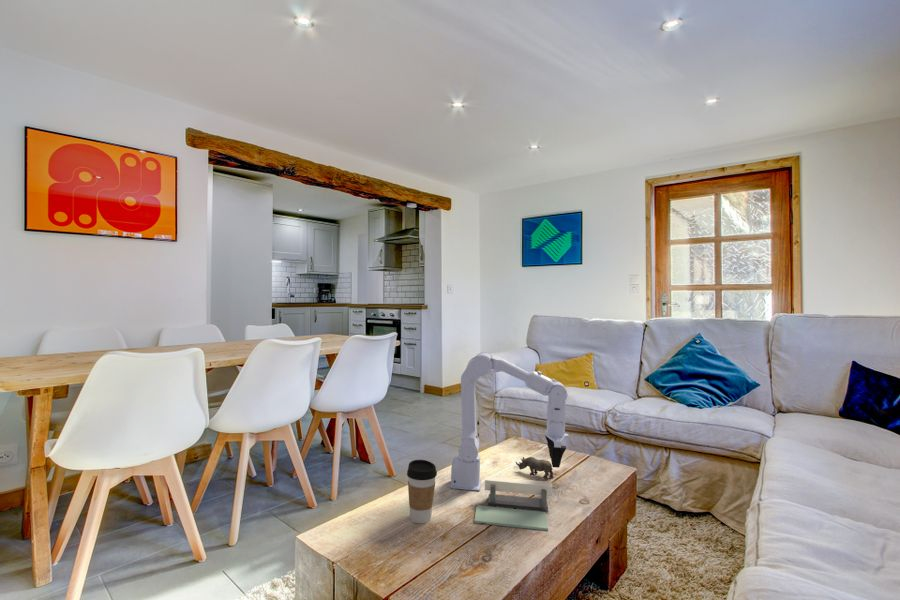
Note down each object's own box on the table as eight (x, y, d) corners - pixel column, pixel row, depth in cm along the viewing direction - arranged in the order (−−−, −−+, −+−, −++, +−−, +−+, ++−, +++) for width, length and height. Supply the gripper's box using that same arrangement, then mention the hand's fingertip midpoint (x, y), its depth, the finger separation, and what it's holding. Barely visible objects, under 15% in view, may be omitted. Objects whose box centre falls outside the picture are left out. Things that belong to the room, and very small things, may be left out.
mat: (474, 522, 119) (474, 520, 119) (476, 507, 128) (476, 505, 128) (548, 530, 116) (548, 528, 116) (545, 514, 125) (545, 512, 125)
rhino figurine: (517, 468, 158) (518, 451, 158) (554, 476, 152) (555, 459, 152) (513, 472, 155) (514, 455, 155) (551, 481, 148) (551, 463, 148)
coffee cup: (422, 507, 126) (423, 456, 126) (441, 518, 120) (443, 465, 120) (399, 517, 121) (400, 463, 120) (418, 529, 114) (420, 473, 114)
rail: (484, 489, 130) (484, 480, 130) (485, 485, 133) (485, 476, 133) (552, 496, 127) (552, 486, 127) (551, 491, 130) (551, 482, 130)
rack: (487, 506, 128) (488, 486, 128) (489, 496, 135) (489, 477, 135) (548, 512, 126) (548, 492, 126) (546, 501, 133) (546, 482, 133)
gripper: (571, 427, 130) (570, 472, 130) (565, 415, 145) (564, 455, 145) (548, 426, 131) (546, 470, 131) (544, 413, 146) (543, 453, 146)
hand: (554, 462), depth 138 cm, fingers open, 7 cm apart
